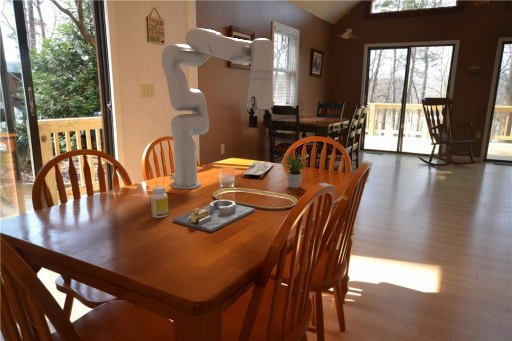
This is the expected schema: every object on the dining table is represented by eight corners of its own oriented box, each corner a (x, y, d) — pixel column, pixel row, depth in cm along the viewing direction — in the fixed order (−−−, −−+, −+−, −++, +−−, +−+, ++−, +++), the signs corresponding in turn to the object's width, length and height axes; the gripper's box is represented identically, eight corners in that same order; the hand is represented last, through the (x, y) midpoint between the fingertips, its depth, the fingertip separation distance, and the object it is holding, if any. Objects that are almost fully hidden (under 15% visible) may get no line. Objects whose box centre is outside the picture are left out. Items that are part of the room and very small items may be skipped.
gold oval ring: (286, 214, 127) (286, 210, 126) (203, 200, 142) (203, 196, 142) (304, 200, 143) (304, 196, 142) (228, 189, 158) (228, 185, 158)
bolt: (191, 221, 114) (190, 209, 113) (203, 216, 119) (203, 204, 118) (195, 222, 113) (195, 210, 112) (208, 217, 118) (208, 205, 117)
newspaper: (252, 165, 211) (252, 159, 210) (274, 166, 209) (274, 160, 209) (240, 179, 177) (240, 172, 176) (265, 180, 175) (266, 173, 175)
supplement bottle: (171, 214, 124) (170, 186, 122) (161, 219, 119) (159, 190, 117) (159, 212, 126) (157, 184, 124) (148, 216, 122) (146, 188, 119)
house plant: (271, 188, 159) (271, 151, 155) (281, 181, 171) (281, 147, 168) (302, 192, 153) (304, 154, 150) (310, 184, 166) (312, 149, 162)
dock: (172, 221, 117) (172, 211, 116) (219, 203, 137) (219, 194, 136) (211, 232, 109) (211, 221, 108) (254, 211, 128) (254, 201, 128)
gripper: (264, 78, 135) (263, 124, 138) (238, 76, 120) (238, 127, 124) (282, 77, 131) (280, 125, 135) (257, 75, 116) (256, 129, 120)
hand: (260, 126), depth 129 cm, fingers open, 9 cm apart
